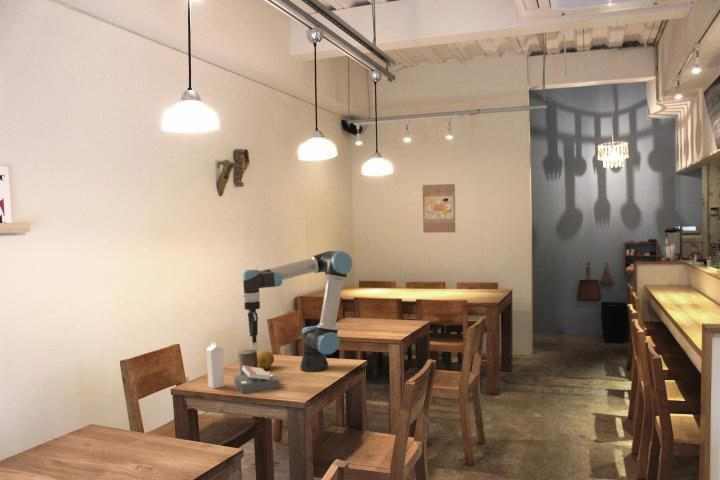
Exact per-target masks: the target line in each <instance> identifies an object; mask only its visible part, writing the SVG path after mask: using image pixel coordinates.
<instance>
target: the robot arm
mask: <svg viewBox="0 0 720 480" xmlns="http://www.w3.org/2000/svg"><path fill="white" fill-rule="evenodd" d="M352 268H353V260H352V257H351V256H350V254H349V253H347V252H345V251H341V250H340V251H339V250H337V251H336V250H327V251H324V252H322V253H318V254H315V255H311V256H310V258H307V259H303V260H299V261H295V262H290V263H287V264H282V265H279V266H275V267H271V268H268V269H262V270H258V269H257V268H256V269H255V268H254V269H245V270H243V272H242V281H243V283H242V284H243V285H242V286H243V294H242V297H243V299H244V310H246V311H248V313H247V318H248V329H249V336H250V350H257V349H258V334H259V333H258V327H259V326H258V323H259V322H258V321H259V317H258V313H257V310H259V309H260V308H261V301H260V299H261V298H260V296H261V295H260V289H264V288H265V289H266V288H267V289H268V288H276V287H277V288H278V287H280V286H282V284H283V281H284V280H287V279H292V278H296V277H299V276H304V275H307V274H310V273H311V274H312V273H313V274H319V273H324V276H325V277H326V283H325V289H324V294H323V295H324V296H323V302H322V308H321V313H320V318H319V323H318V324H317V325H313V326H305V327H303V328H302V329H301V337H302V339H301V341H302V342H301V343H302V358H301V362H300V366H299V367H300V371H302V372H303V371H304V372H310V373H311V372H321V371H324V370H325V371H326V370H327V369H328V368H329V361H328V359H327V356H326V355H332V354H333V353H335V352H336V351H337V350H338V348H339V346H340V342H341V341H340V337H339V336H338V332H339V328H338V327H337V318H338V314H339V308H340V307H339V306H340V302H341V296H342V289H343V282H344V281H345V280H346V279H347V276H348V273H350V272H351V270H352Z"/></svg>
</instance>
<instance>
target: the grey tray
mask: <svg viewBox="0 0 720 480" xmlns="http://www.w3.org/2000/svg"><path fill="white" fill-rule="evenodd" d="M266 372H267V373H268V374H269V375H270V379H269V380H267V379H258V378H249V377H248V376H247V375H234V377H233V379H234V385H235V386H236V388H237V389H238V391H239V392H240V393H241V394H247V393H253V392H259V391H267V390H274V389H279V388H280V384H279V378H277V377H276V376H275V375H274V374H273V373H272V372H271V371H266Z"/></svg>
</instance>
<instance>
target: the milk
mask: <svg viewBox="0 0 720 480" xmlns="http://www.w3.org/2000/svg"><path fill="white" fill-rule="evenodd" d="M205 349H206V367H207V386H208V388H211V389H217V388H223V387H225V374H224V356H223V354H224V353H223V348H221V347H219V346H218V345H217V342H214V341H211V345H209V346H208V347H207V348H205Z"/></svg>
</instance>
